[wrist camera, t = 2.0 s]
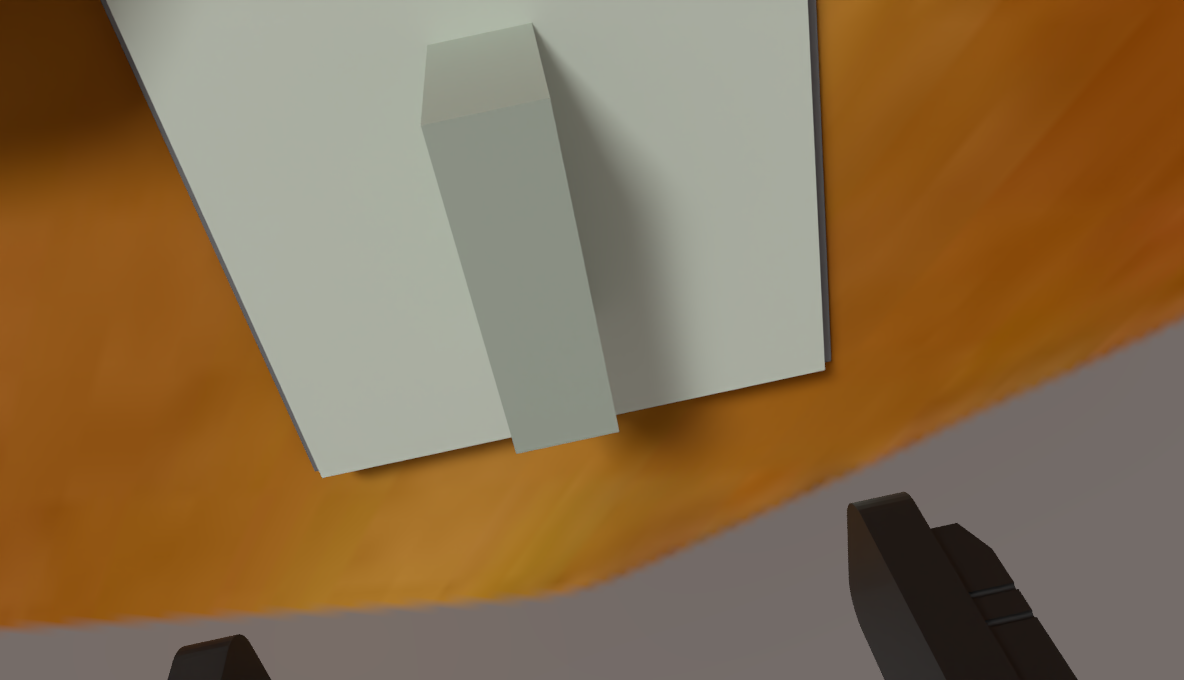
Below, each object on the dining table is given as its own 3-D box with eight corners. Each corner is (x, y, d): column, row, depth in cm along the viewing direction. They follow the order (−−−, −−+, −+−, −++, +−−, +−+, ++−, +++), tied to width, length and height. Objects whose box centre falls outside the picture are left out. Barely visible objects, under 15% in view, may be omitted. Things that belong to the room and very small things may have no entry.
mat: (799, -249, 20) (805, -248, 20) (826, 353, 29) (830, 360, 29) (66, -92, 20) (60, -89, 20) (317, 462, 29) (315, 471, 29)
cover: (783, -216, 20) (889, -191, 15) (814, 350, 29) (888, 485, 24) (94, -69, 20) (-22, 3, 15) (325, 455, 29) (298, 612, 24)
